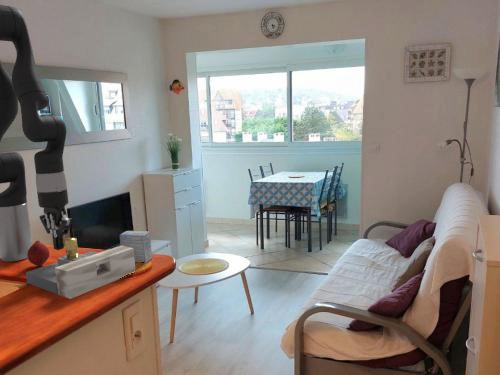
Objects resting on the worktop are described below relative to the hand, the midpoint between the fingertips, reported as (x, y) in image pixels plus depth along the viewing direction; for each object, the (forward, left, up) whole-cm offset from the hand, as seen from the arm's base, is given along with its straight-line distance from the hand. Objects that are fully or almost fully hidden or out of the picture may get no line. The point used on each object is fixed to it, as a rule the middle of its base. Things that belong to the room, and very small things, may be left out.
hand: (59, 248), depth 119 cm
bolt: (+9, 0, -3) cm, 9 cm away
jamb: (+17, 0, -7) cm, 18 cm away
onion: (-10, -1, -7) cm, 12 cm away
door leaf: (+7, 0, -7) cm, 10 cm away
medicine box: (+12, +17, -7) cm, 22 cm away
